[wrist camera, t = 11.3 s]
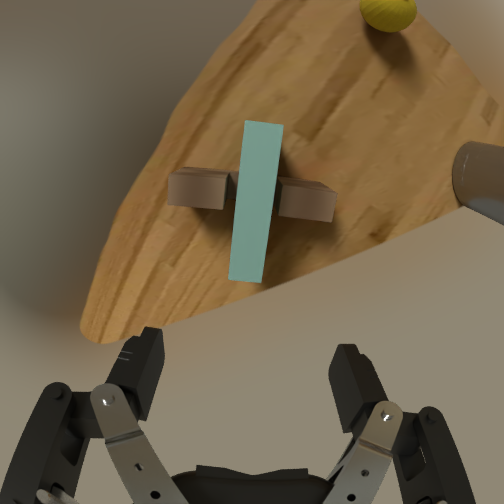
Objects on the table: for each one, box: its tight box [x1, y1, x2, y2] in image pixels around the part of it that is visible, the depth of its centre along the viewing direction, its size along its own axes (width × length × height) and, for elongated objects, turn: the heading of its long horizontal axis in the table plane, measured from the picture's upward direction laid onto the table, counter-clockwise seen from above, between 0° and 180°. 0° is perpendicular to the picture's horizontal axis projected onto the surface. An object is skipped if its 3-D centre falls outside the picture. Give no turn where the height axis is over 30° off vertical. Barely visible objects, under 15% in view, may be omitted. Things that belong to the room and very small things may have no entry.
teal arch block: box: [228, 120, 284, 283], centre depth 24 cm, size 12×3×9 cm, turn 173°
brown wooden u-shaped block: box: [167, 167, 337, 223], centre depth 25 cm, size 14×3×6 cm, turn 83°
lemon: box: [360, 0, 417, 32], centre depth 17 cm, size 6×6×8 cm
